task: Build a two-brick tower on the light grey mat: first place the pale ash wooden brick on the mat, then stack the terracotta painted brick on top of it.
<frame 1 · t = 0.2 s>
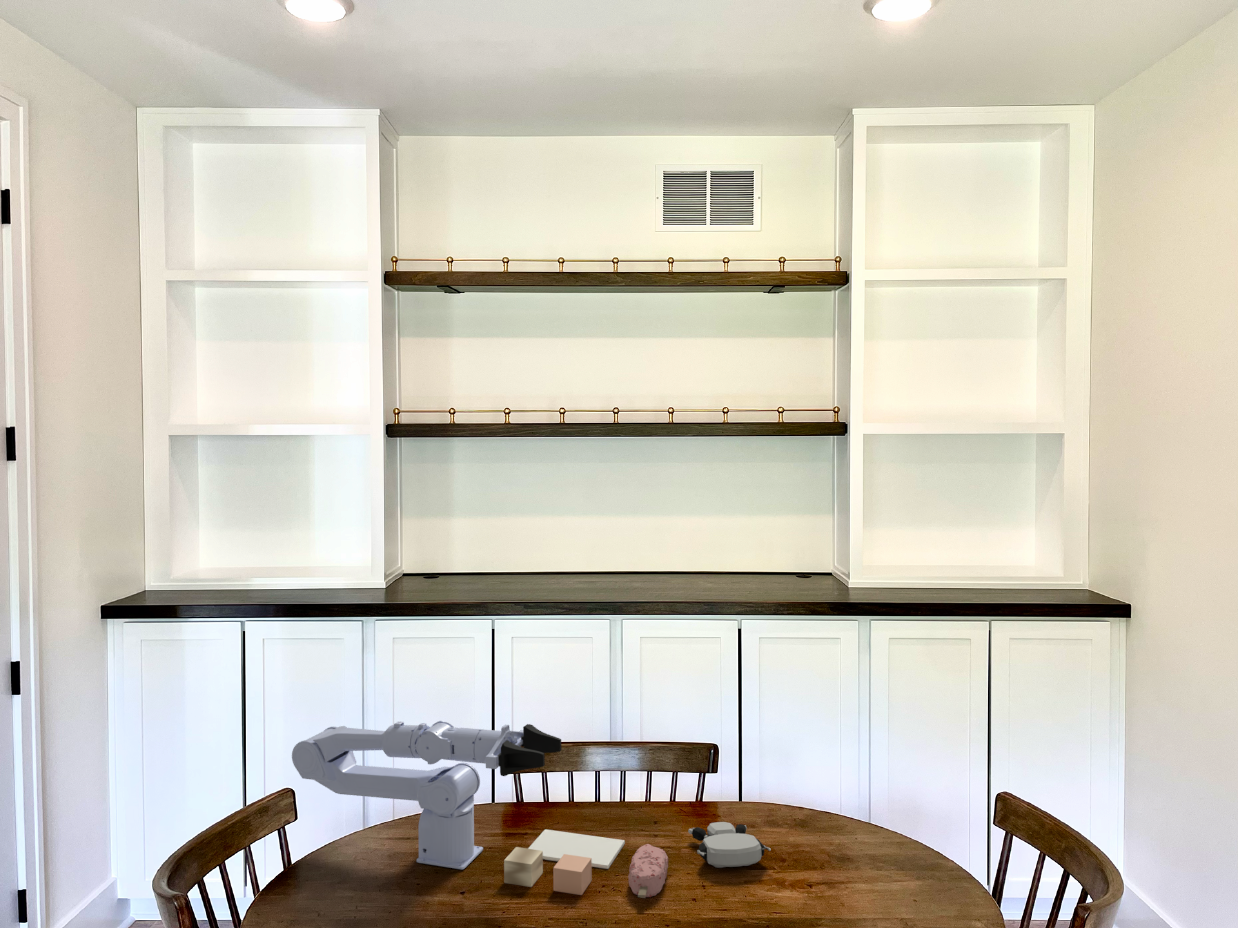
hand: (552, 752, 148), 21 cm above the table, tool horizontal, fingers open, 7 cm apart
ash brick: (523, 878, 147), on the table
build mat: (575, 849, 157), on the table
robot toy: (726, 857, 154), on the table
terracotta brick: (572, 886, 144), on the table
ice cream bar: (647, 886, 144), on the table
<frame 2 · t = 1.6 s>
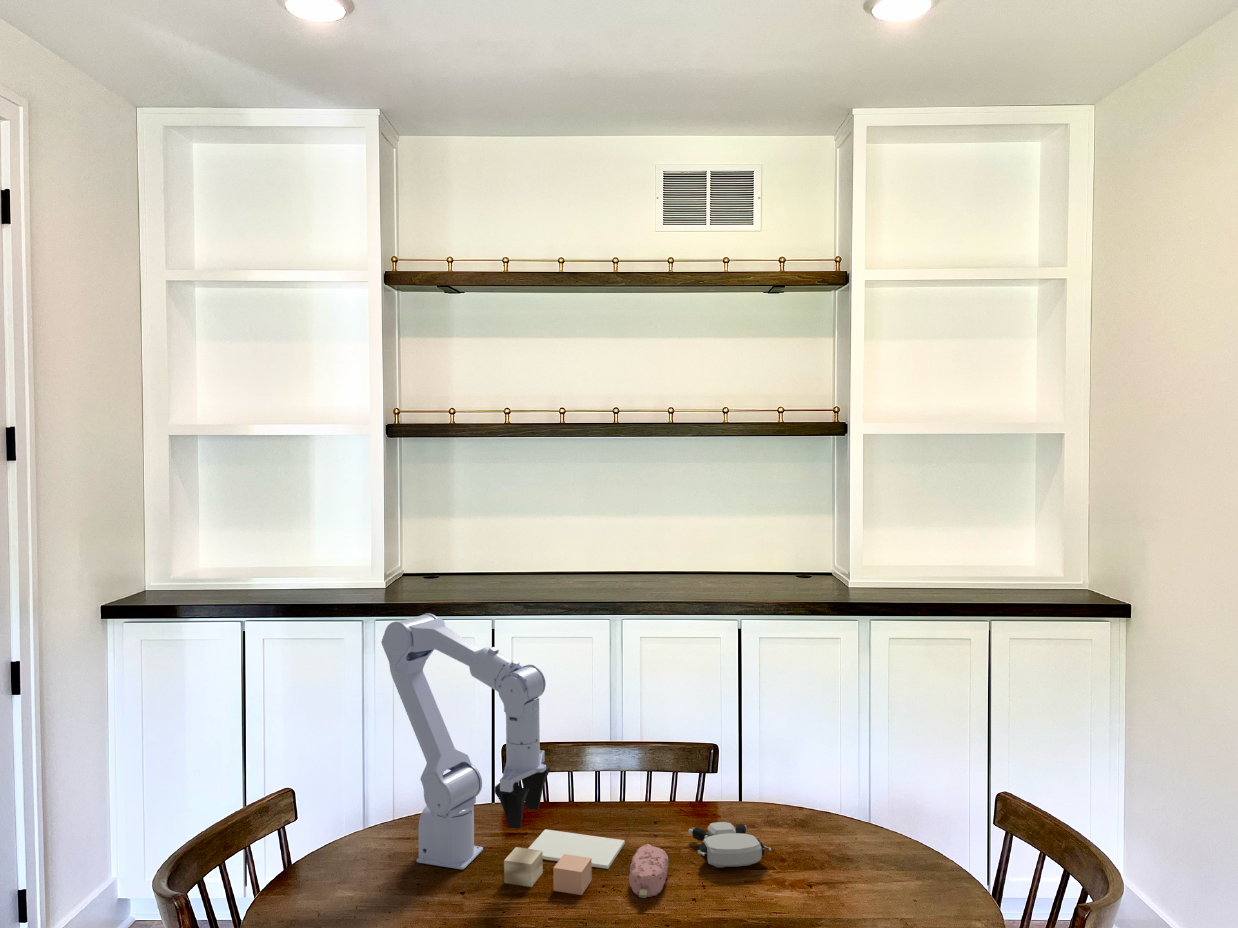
hand: (523, 817, 146), 10 cm above the table, tool pointing down, fingers open, 7 cm apart
nothing on the table moved.
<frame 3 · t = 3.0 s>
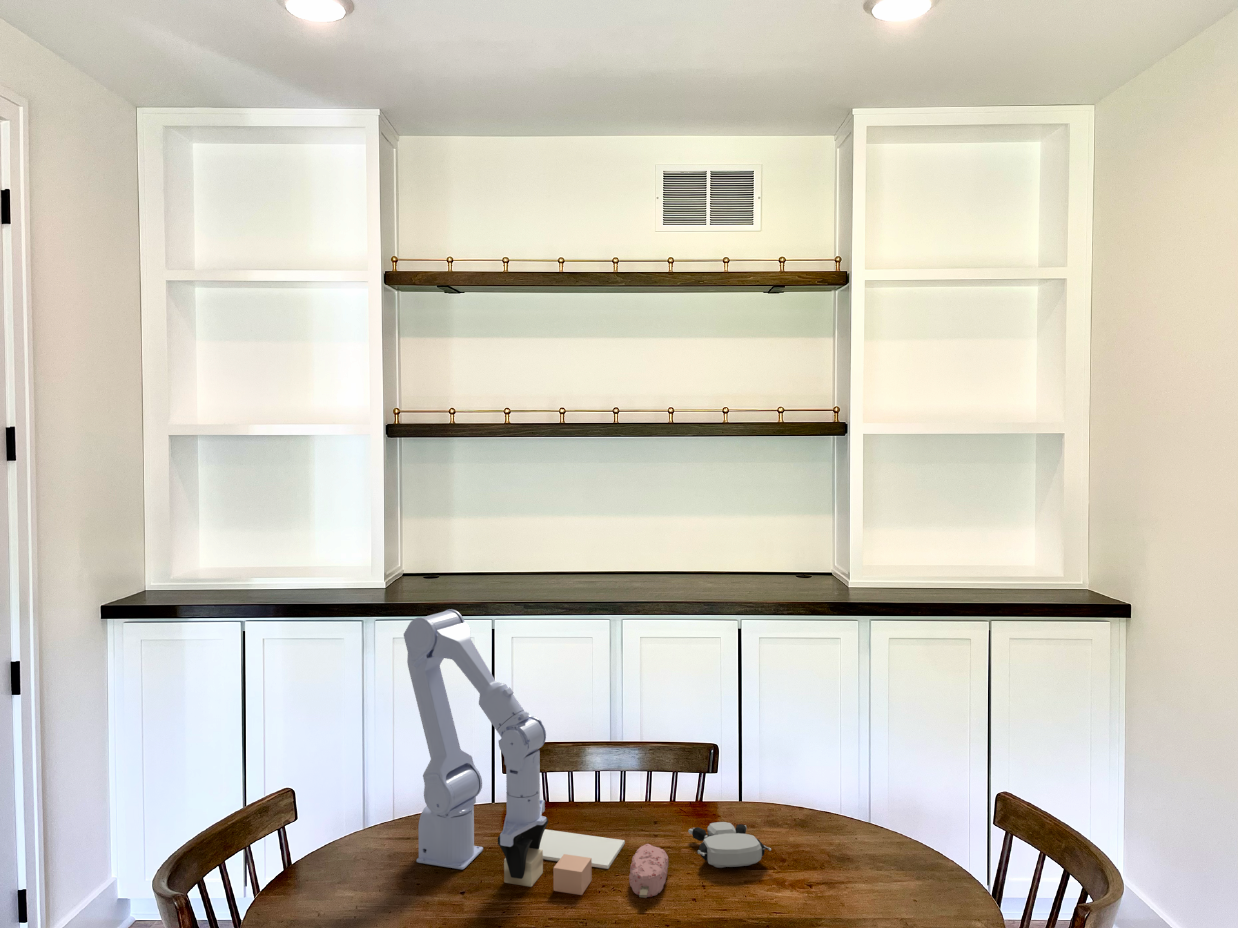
hand: (523, 869, 147), 1 cm above the table, tool pointing down, fingers closed on ash brick, 5 cm apart
ash brick: (523, 877, 147), on the table, touching gripper
everything else where it was.
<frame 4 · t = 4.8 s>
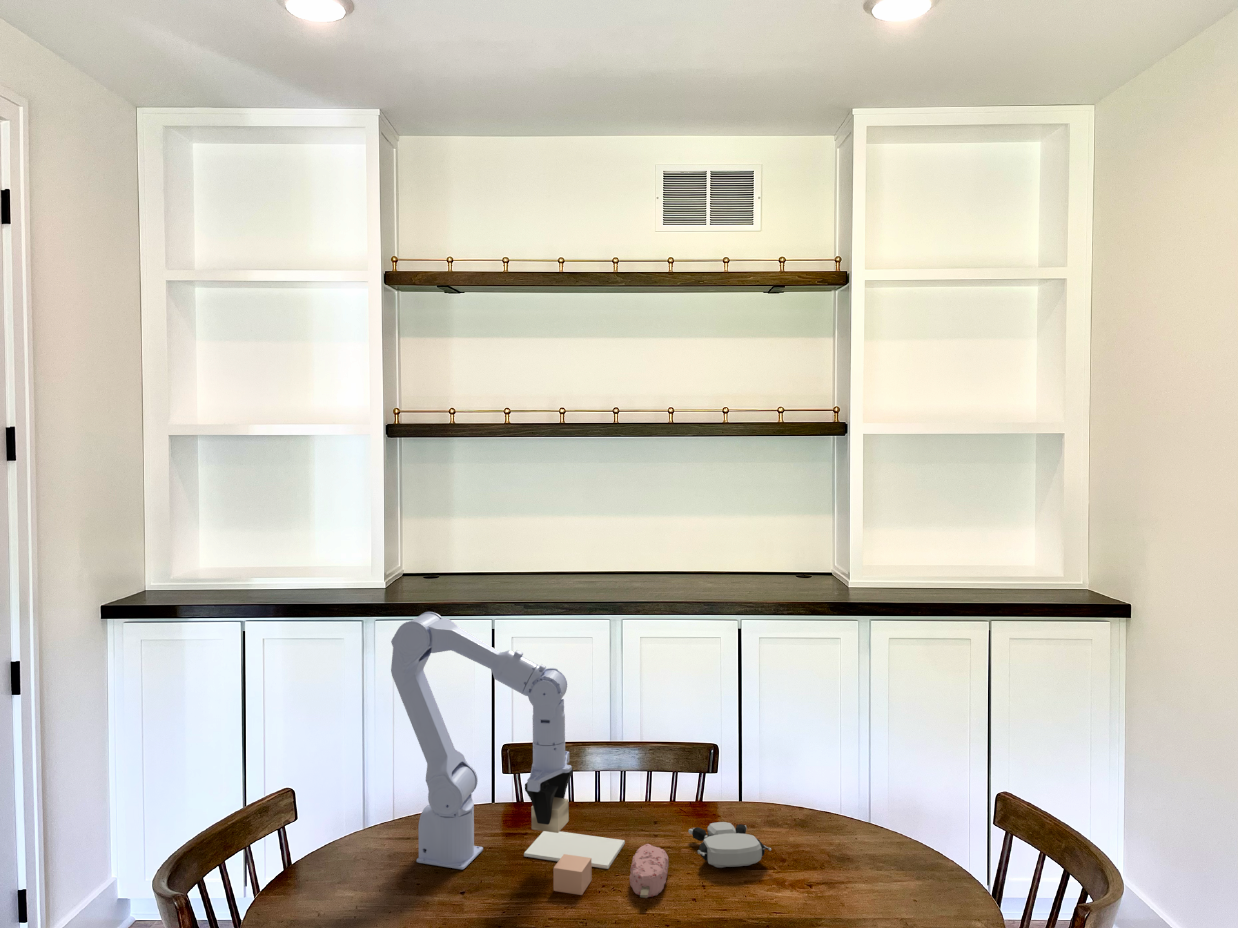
hand: (549, 816, 151), 8 cm above the table, tool pointing down, fingers closed on ash brick, 5 cm apart
ash brick: (550, 824, 151), point 7 cm above the table, touching gripper
everything else where it was.
when the fingers open (3 cm above the table, at t = 6.7 s): ash brick drops 1 cm, resting on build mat.
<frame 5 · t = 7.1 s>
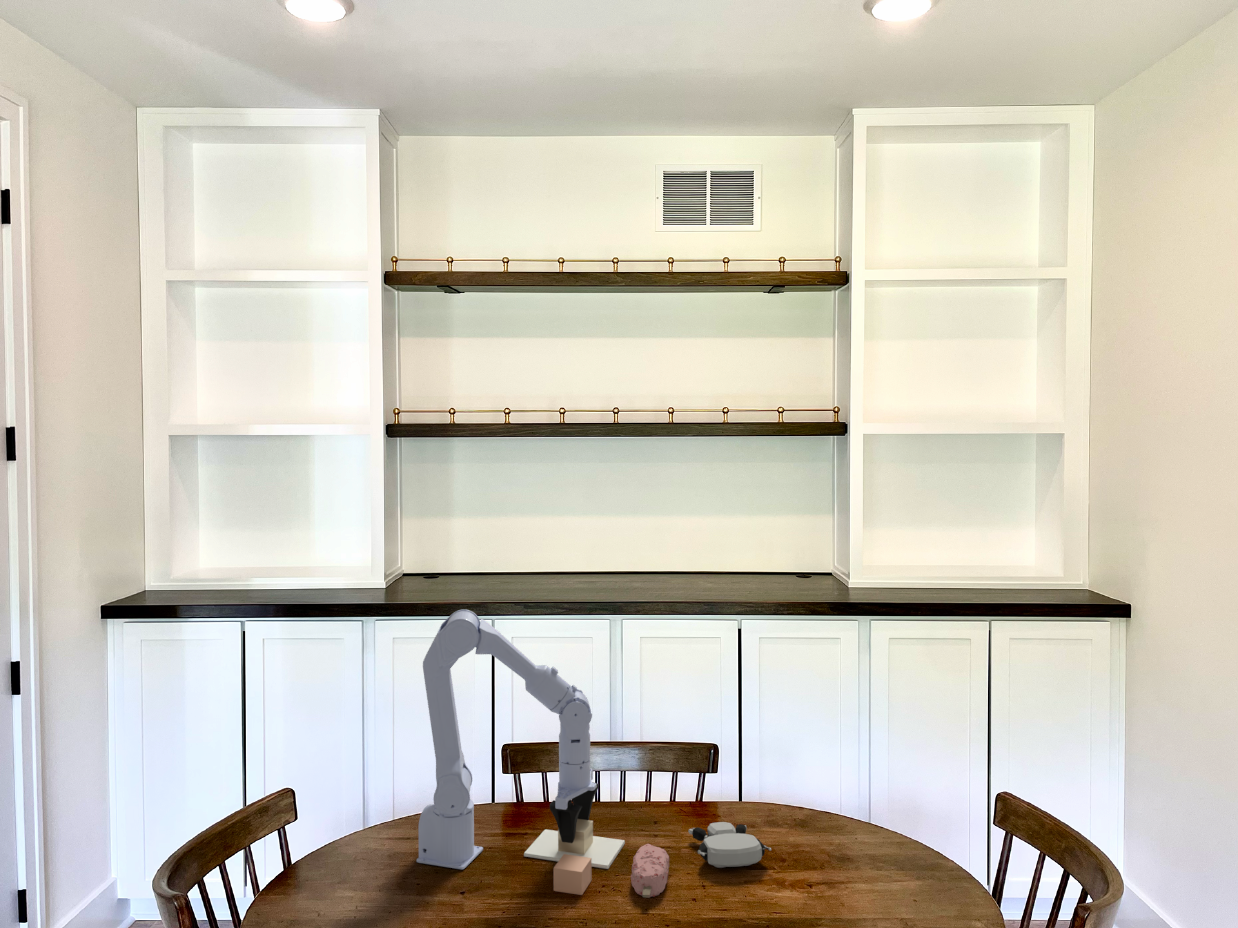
hand: (575, 832, 157), 3 cm above the table, tool pointing down, fingers open, 7 cm apart
ash brick: (575, 846, 157), point 1 cm above the table, touching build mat
everything else where it was.
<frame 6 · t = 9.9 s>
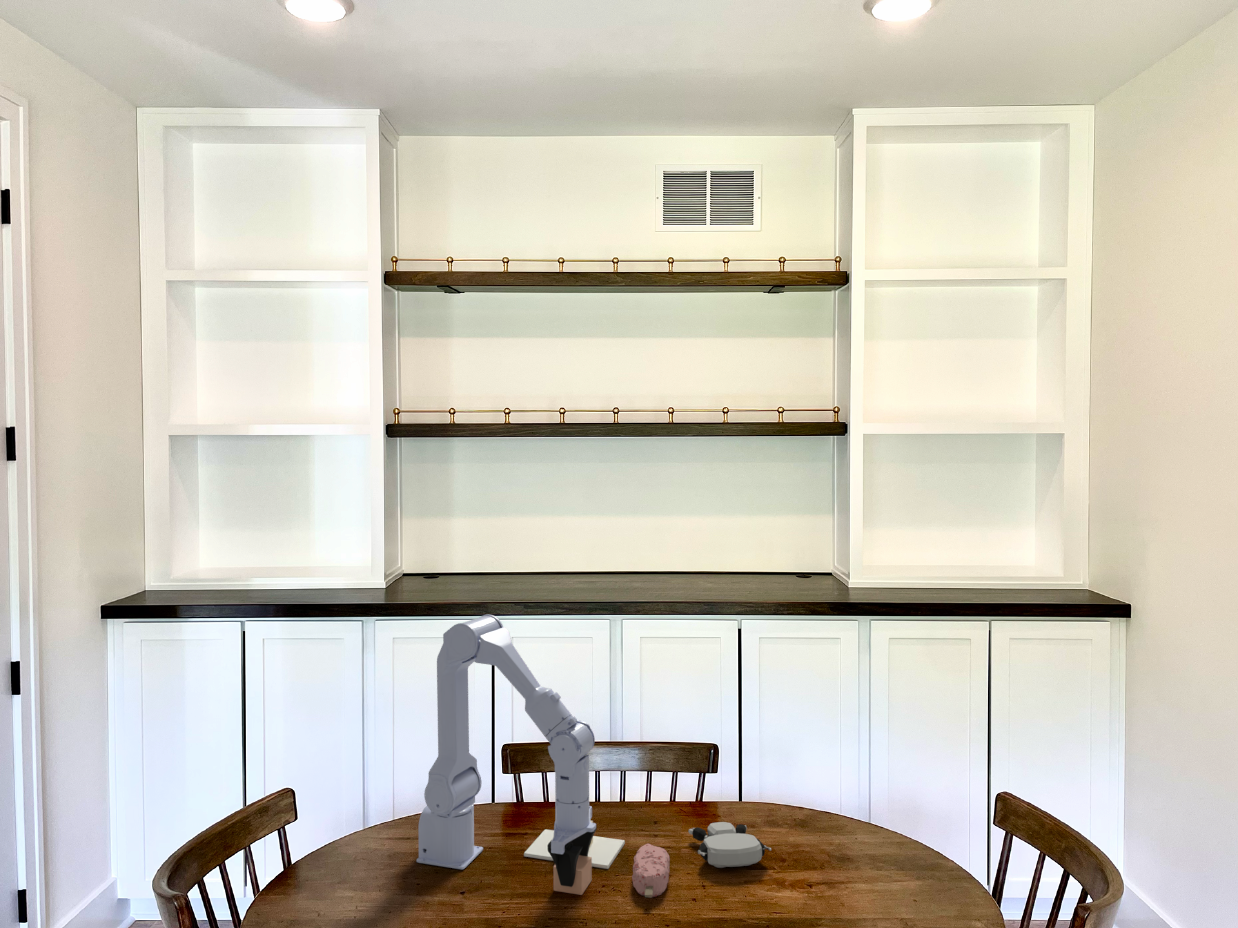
hand: (572, 876, 144), 1 cm above the table, tool pointing down, fingers closed on terracotta brick, 5 cm apart
terracotta brick: (572, 885, 144), on the table, touching gripper
everything else where it was.
when the fingers open (7 cm above the table, at t = 13.1 s): terracotta brick drops 1 cm, resting on ash brick.
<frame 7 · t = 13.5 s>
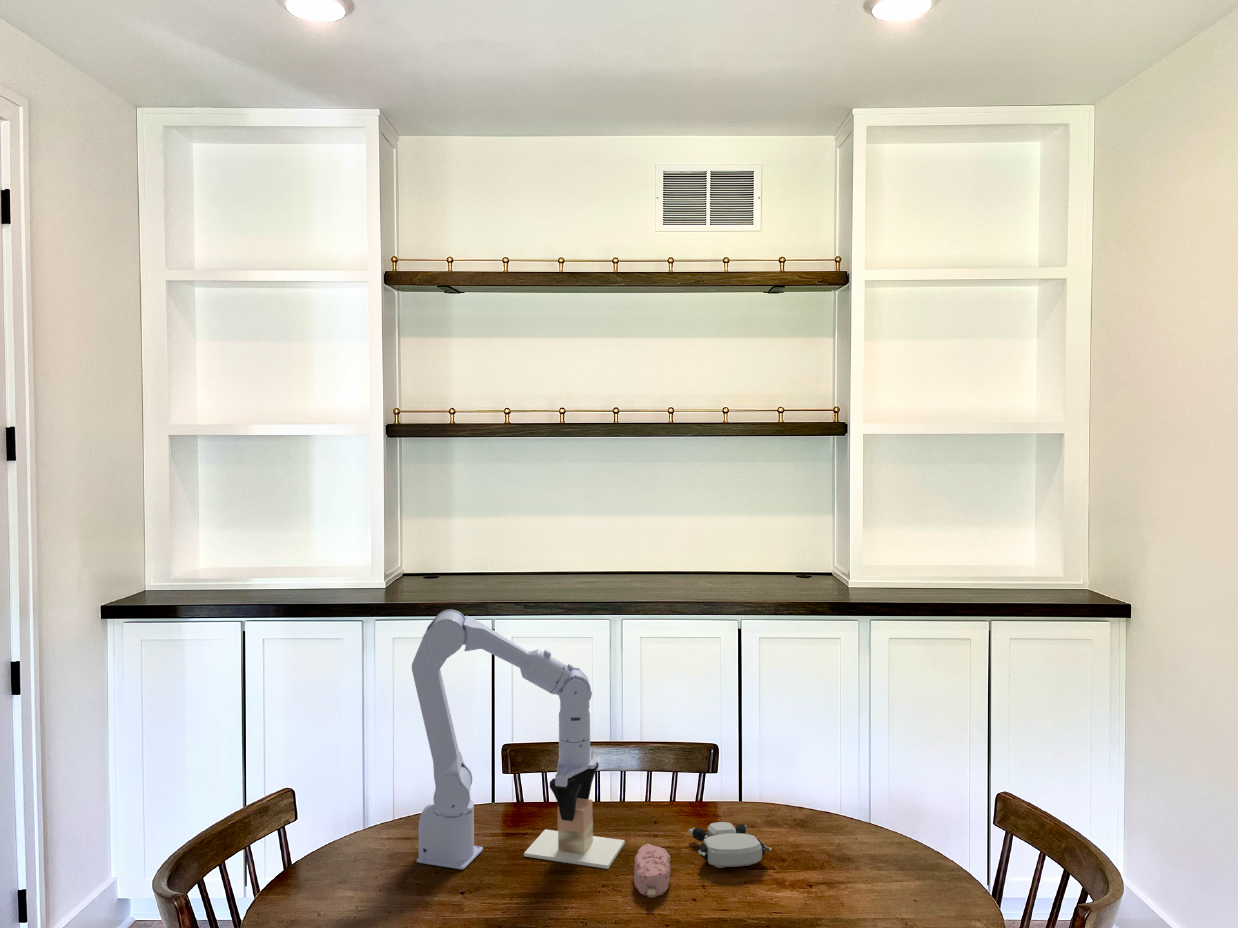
hand: (574, 810, 157), 7 cm above the table, tool pointing down, fingers open, 7 cm apart
ash brick: (575, 846, 157), point 1 cm above the table, touching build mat, terracotta brick
terracotta brick: (575, 825, 157), point 5 cm above the table, touching ash brick
everything else where it was.
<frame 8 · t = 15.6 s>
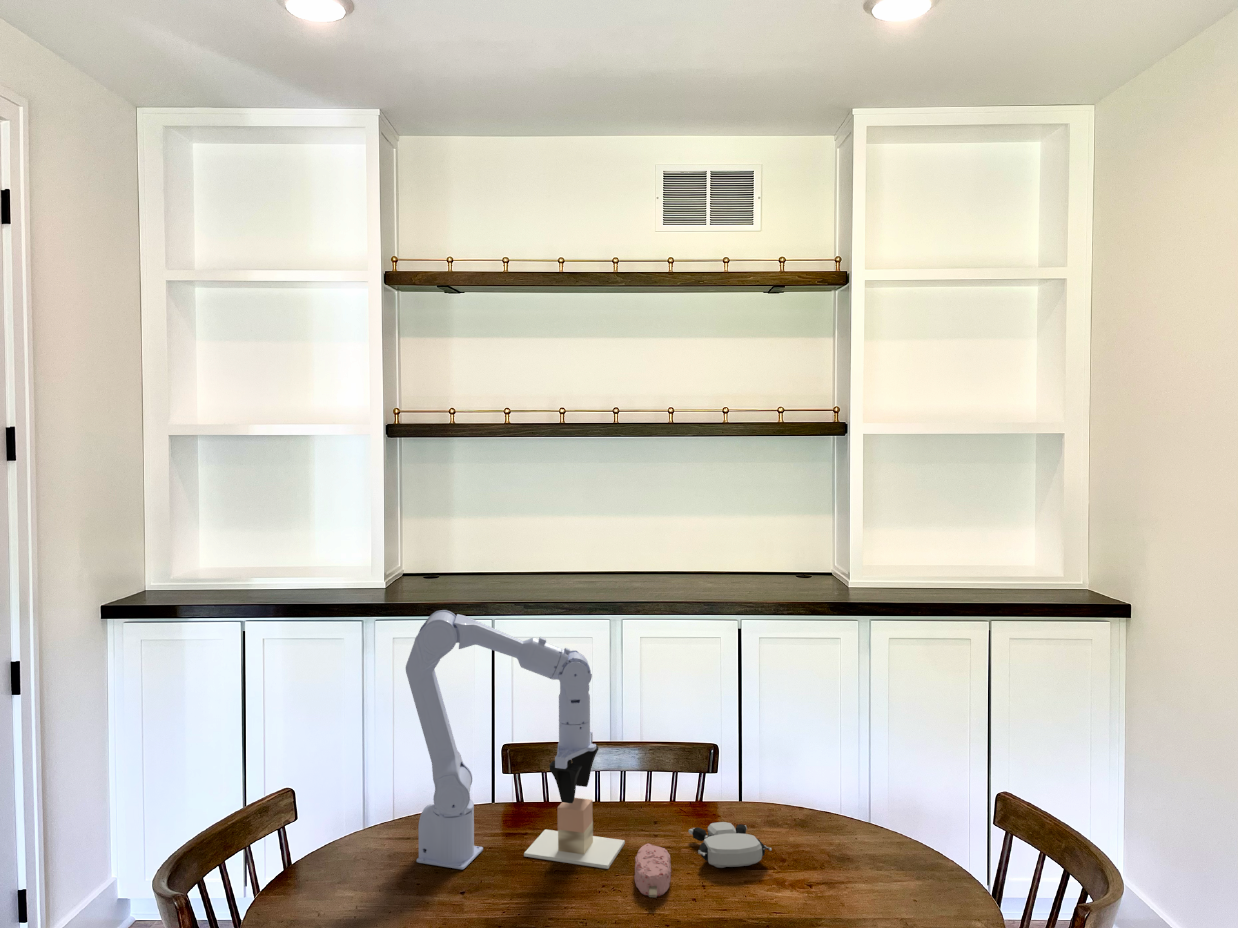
hand: (574, 793, 156), 10 cm above the table, tool pointing down, fingers open, 7 cm apart
nothing on the table moved.
at the end: ash brick inside the target area on the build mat (0.1 cm from its centre), point 0.6 cm above the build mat's base; terracotta brick 0.2 cm off-centre on the ash brick, point 4.0 cm above the ash brick's base; terracotta brick tilted 0° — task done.
